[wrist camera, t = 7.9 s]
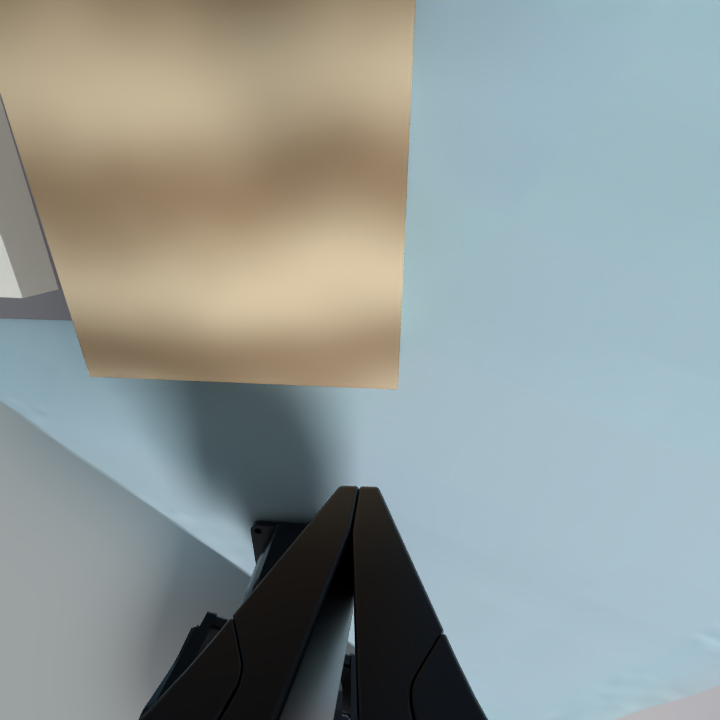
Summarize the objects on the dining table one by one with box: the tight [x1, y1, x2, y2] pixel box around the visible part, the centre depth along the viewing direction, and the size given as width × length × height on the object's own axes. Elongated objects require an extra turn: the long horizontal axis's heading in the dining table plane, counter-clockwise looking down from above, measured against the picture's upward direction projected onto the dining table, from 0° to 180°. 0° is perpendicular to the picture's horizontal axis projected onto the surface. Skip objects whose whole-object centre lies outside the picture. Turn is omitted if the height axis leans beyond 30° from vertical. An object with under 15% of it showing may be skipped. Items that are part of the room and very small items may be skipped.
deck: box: [0, 0, 415, 389], centre depth 15 cm, size 15×14×4 cm
